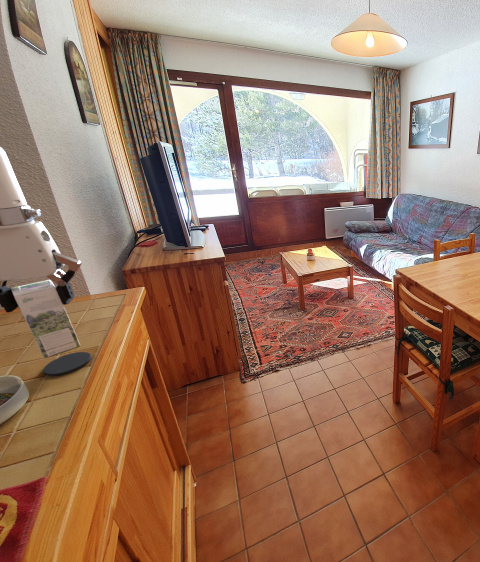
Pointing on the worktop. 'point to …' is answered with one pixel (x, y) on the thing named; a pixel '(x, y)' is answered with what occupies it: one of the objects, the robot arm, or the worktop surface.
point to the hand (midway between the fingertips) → (41, 305)
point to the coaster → (67, 364)
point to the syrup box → (46, 317)
